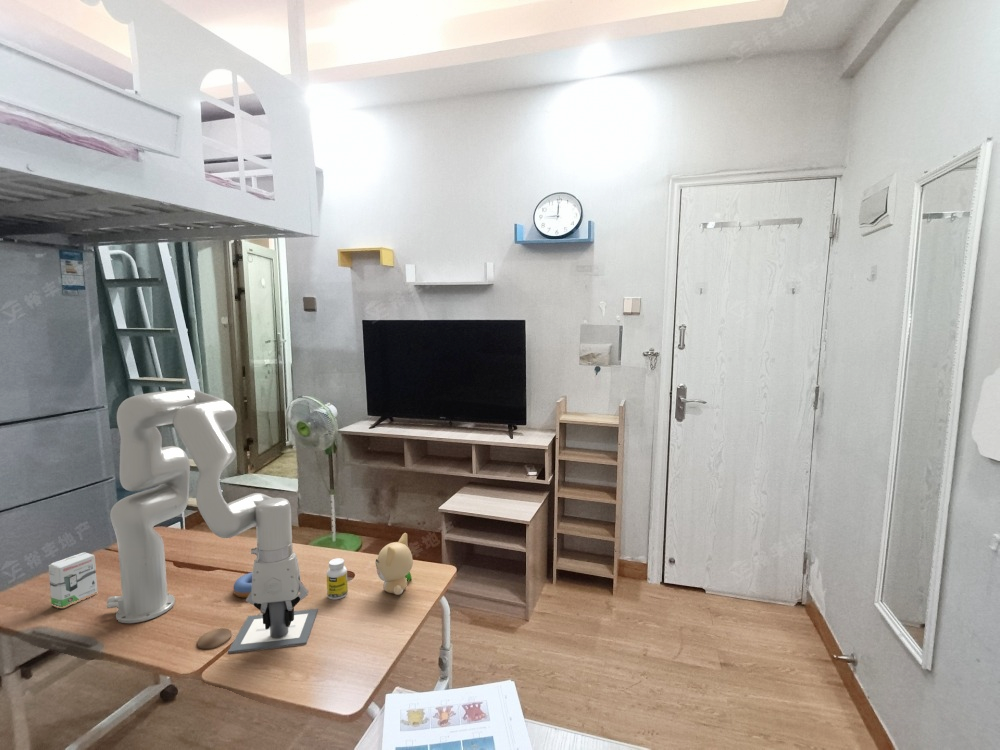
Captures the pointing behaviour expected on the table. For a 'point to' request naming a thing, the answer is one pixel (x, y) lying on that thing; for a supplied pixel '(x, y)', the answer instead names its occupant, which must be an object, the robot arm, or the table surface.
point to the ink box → (72, 579)
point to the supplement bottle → (337, 579)
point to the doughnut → (243, 585)
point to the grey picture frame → (259, 637)
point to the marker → (277, 619)
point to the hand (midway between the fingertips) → (279, 624)
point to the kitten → (395, 565)
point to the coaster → (214, 638)
